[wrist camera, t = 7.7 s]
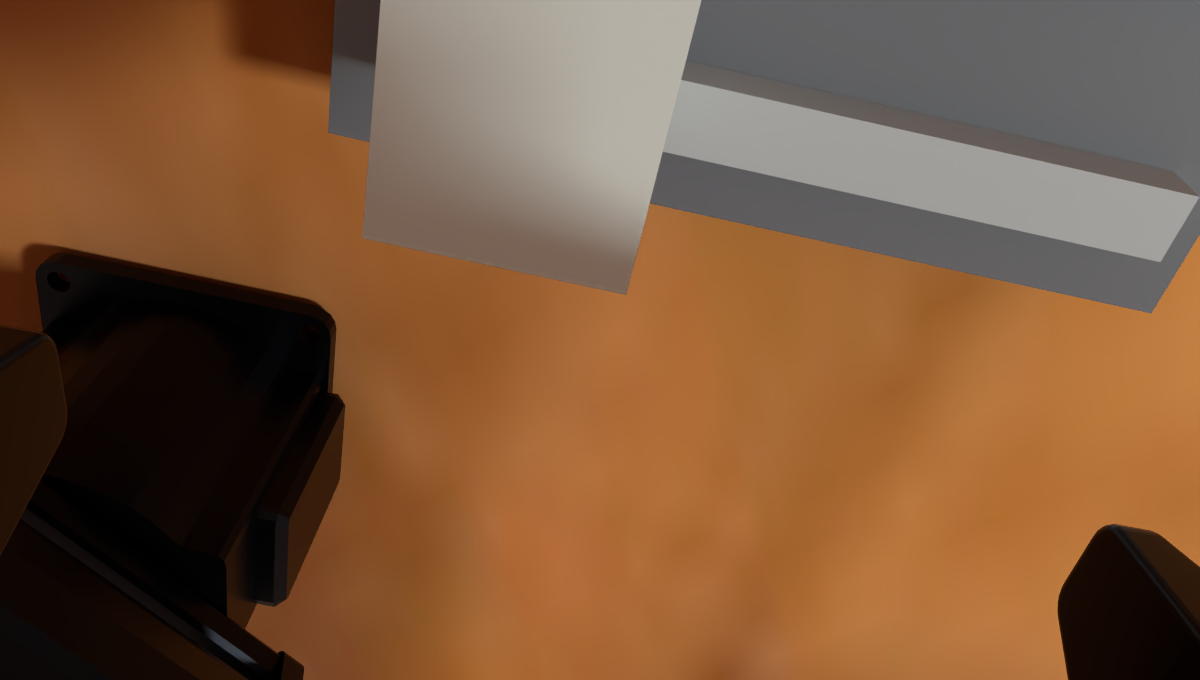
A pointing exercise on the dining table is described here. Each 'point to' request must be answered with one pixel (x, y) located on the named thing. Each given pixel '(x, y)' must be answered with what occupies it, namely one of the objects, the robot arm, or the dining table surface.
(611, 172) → the fader tab
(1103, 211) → the fader console
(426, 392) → the dining table surface
